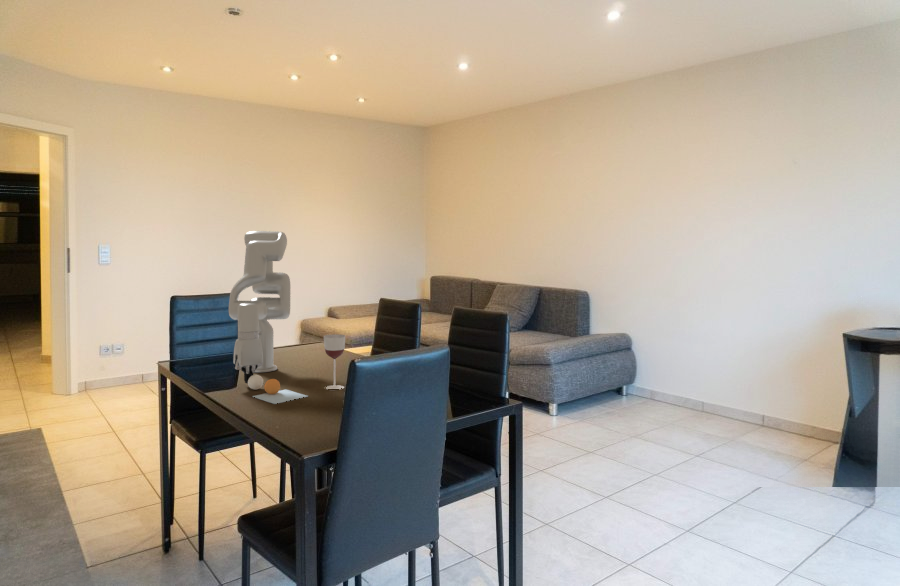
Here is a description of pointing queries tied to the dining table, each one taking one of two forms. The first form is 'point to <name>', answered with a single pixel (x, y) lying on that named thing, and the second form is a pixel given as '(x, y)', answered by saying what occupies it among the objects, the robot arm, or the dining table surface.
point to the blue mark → (280, 396)
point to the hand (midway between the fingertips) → (248, 382)
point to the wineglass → (334, 352)
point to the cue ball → (255, 382)
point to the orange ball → (272, 386)
